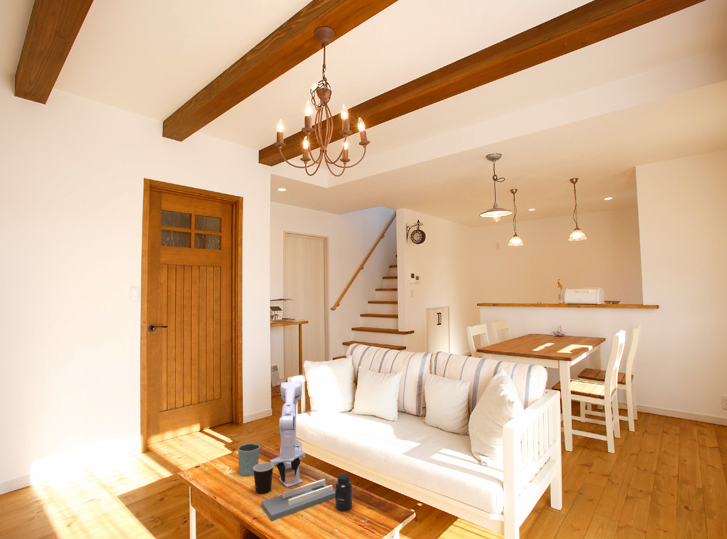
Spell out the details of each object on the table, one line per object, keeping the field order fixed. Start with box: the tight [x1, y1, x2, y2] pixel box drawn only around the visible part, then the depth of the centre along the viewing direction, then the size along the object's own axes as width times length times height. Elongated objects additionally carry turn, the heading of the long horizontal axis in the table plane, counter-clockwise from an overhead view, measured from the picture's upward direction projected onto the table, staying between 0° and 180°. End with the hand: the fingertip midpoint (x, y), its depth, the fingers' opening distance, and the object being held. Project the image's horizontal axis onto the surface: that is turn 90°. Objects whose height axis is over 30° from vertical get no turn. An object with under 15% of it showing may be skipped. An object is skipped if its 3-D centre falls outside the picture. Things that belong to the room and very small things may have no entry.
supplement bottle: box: [334, 473, 353, 512], centre depth 151 cm, size 7×7×12 cm
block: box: [284, 467, 295, 484], centre depth 155 cm, size 4×4×4 cm
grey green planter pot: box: [237, 442, 261, 477], centre depth 182 cm, size 10×10×12 cm
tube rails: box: [281, 478, 334, 506], centre depth 157 cm, size 8×20×2 cm, turn 124°
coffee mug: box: [253, 462, 274, 495], centre depth 166 cm, size 12×9×10 cm
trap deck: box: [260, 482, 335, 522], centre depth 155 cm, size 12×28×2 cm, turn 124°
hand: (288, 479), depth 155 cm, fingers closed on block, 4 cm apart
